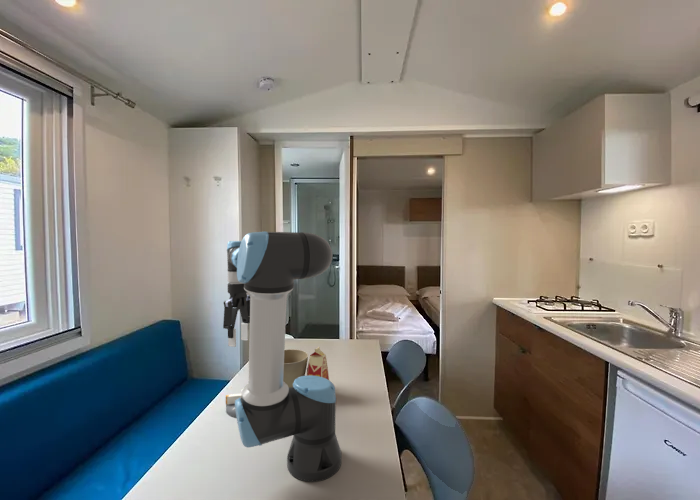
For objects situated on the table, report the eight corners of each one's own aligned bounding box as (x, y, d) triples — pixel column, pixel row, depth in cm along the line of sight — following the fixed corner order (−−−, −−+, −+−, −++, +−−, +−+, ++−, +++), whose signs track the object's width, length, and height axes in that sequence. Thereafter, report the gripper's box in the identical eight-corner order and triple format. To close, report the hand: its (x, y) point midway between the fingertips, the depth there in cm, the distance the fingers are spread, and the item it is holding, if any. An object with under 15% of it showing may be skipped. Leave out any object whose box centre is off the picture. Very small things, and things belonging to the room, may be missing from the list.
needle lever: (251, 398, 122) (251, 386, 122) (251, 403, 118) (251, 391, 118) (226, 401, 120) (226, 389, 120) (225, 406, 116) (225, 394, 116)
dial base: (252, 420, 111) (252, 414, 111) (217, 414, 115) (217, 408, 115) (272, 400, 125) (272, 395, 125) (241, 395, 129) (240, 390, 128)
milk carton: (325, 403, 123) (325, 351, 122) (301, 401, 125) (302, 349, 124) (331, 392, 132) (331, 343, 131) (309, 390, 134) (309, 342, 133)
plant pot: (268, 389, 134) (268, 351, 134) (304, 384, 139) (304, 347, 138) (271, 407, 120) (271, 365, 119) (311, 401, 125) (311, 360, 124)
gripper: (245, 278, 132) (246, 334, 133) (211, 285, 113) (211, 350, 114) (261, 279, 129) (262, 336, 130) (229, 286, 111) (229, 353, 112)
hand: (238, 342), depth 122 cm, fingers open, 7 cm apart
